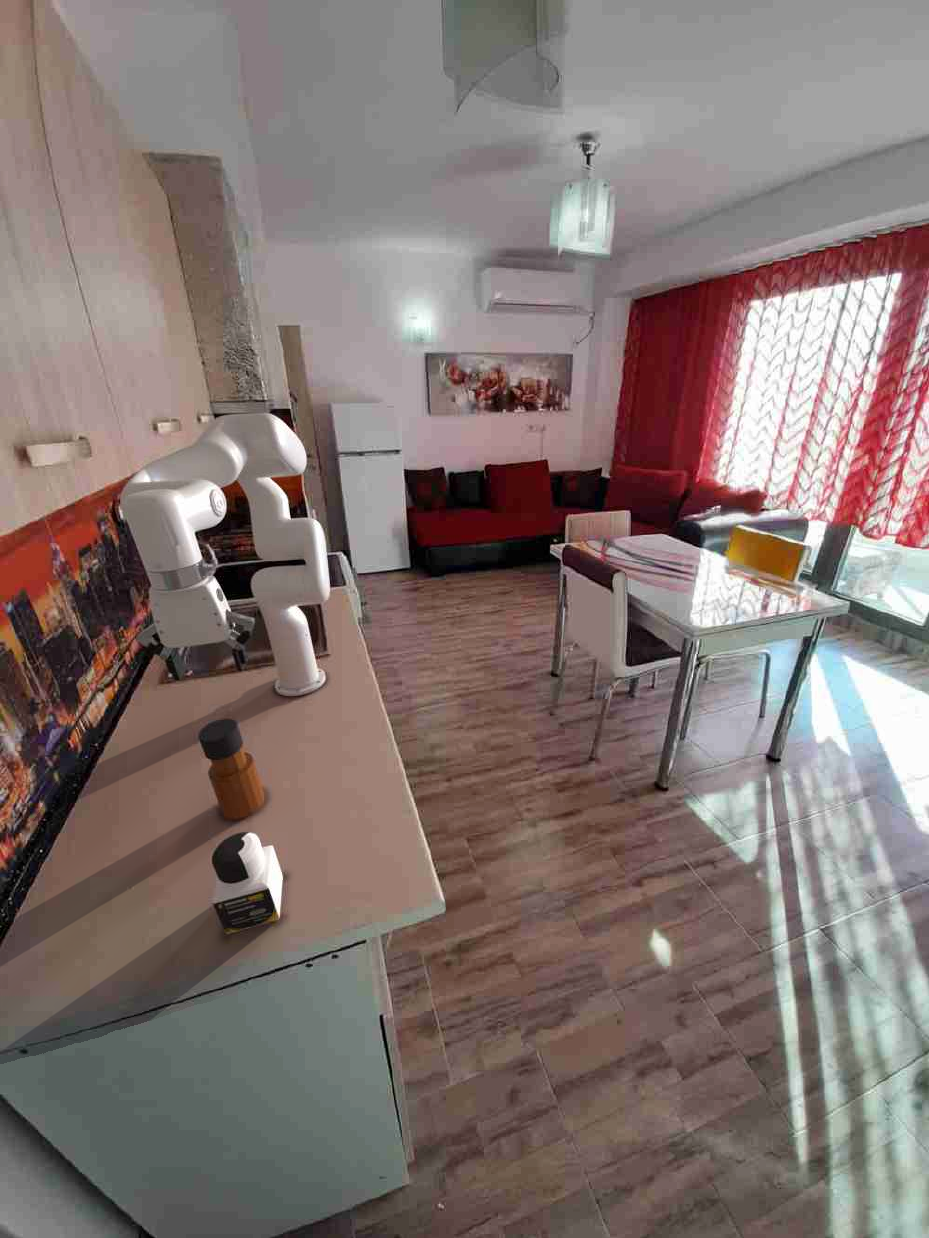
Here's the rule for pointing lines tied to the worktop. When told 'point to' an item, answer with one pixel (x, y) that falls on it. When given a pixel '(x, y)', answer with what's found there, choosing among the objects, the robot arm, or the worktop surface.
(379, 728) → the worktop surface
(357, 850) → the worktop surface
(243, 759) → the amber bottle
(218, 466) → the robot arm
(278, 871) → the medicine bottle
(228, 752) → the stopper
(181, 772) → the worktop surface
